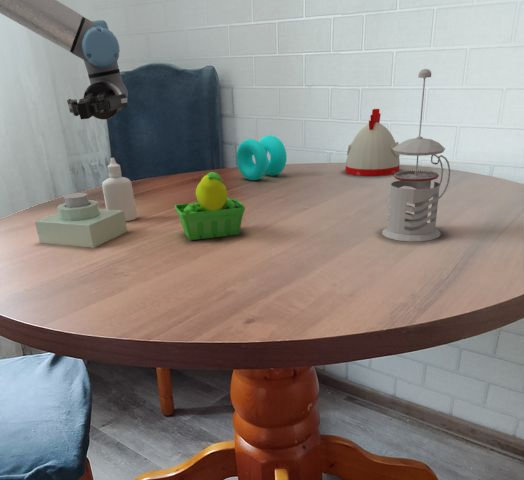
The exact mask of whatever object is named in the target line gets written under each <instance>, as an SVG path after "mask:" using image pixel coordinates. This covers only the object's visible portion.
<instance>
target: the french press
mask: <svg viewBox="0 0 524 480" xmlns="http://www.w3.org/2000/svg"><path fill="white" fill-rule="evenodd" d="M417 78H418V79H423V83H422V95H421V107H420V117H419V129H418V132H419V133H418V136H416V137H415V138H409V139H406V140H404V141H402V142H400V143H398V145H397V146H395V147H394V148H393V151H394V153H396V154H400V155H401V156H413V157H414V156H415V157H416V163H415V164H416V165H415V169H411V170H400V171H399V172H396V173H395V174H393V177H394V179H396V180H395V181H393V182H391V184H390V193H389V197H390V201H389V209H388V214H389V215H388V223H387V226H386V227H385V228H384V229H383V230H382V231H381V233H382V236H384V237H386V238H387V239H391V240H394V241H400V242H427V241H432V240H435V239H438V238H439V237H440V236H441V235H442V234H441V232H440V230H439V229H438V228H437V227H436V225H437V224H436V223H437V217H438V208H439V207H438V206H439V200H440V199H441V198H442V197H443V196H444V194H445V193H446V191H447V189H448V187H449V184H450V179H451V178H450V177H451V167H450V162H449V161H448V159H447V157H446V156H444V155H443V153H444V151H445V150H446V148H445V147H444V145H442V144H441V143H440V142H439V141H437V140H433V139H432V138H424V137H423V136H421V133H422V132H421V131H422V120H423V109H424V100H425V99H424V97H425V85H426V79H427V78H432V70H430V69H429V68H423V69H421V70H420V71H419V72H418V76H417ZM439 154H440V155H439ZM420 156H422V157H423V156H430V163H431V164H432V165H436V166H437V165H439V163H440V169H441V171H440V175H439V173H438V172H435V171H433V170H421V169H418V167H419V166H418V165H419V157H420ZM433 157H436V158H437V162H434V161H433ZM441 158H442V159H444V161H445V163H446V164H447V168H448V175H447V182H446V185H445V188H444V190H443V192H442V193H441V194H440V188H441V185H442V182H443V178H444V177H443V176H444V168H443V167H444V166H443V162H442V160H441ZM439 177H440V180H439V182H437V181H434V180H437V179H438V178H439ZM432 181H433V187H431V185H432ZM402 187H409V188H402ZM407 203H409V204H413V205H414V206H412V205H407ZM430 205H431V207H429V206H430ZM429 213H430V215H428V214H429ZM428 221H429V222H428Z"/></svg>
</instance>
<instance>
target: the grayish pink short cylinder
mask: <svg viewBox="0 0 524 480" xmlns="http://www.w3.org/2000/svg"><path fill="white" fill-rule="evenodd" d="M63 199H64V203H65V204H66V207H67V208H76V207H83V206H87V205H89V200H90V199H89V195H88V193H86V192H74V193H68V194H65V195H64V196H63Z"/></svg>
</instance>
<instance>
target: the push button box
mask: <svg viewBox="0 0 524 480" xmlns="http://www.w3.org/2000/svg"><path fill="white" fill-rule="evenodd" d="M88 200H89V205H87V206H83V207H76V208H67V207H66V204H65V202H63V203H60V204H58V205H57V206H56V210H57V212H56V213H52V214H50V215H47V216H44V217H42V218H38V219H35V220H34V225H35V228H36V233H37V236H38V240H39V244H48V245H49V244H51V245H58V246H59V245H60V246H71V247H79V248H81V247H82V248H91V249H94V248H97V247H98V246H100V245H103V244H105V243H107V242H109V241H111V240H113V239H115V238H118V237H119V236H122V235H124V234H126V233H128V228H127V223H126V222H127V221H126V222H125V216H124V211H121V210H106V208H100V206H99V202H98V201H97V200H93V199H88Z"/></svg>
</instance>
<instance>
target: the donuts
mask: <svg viewBox="0 0 524 480" xmlns="http://www.w3.org/2000/svg"><path fill="white" fill-rule="evenodd" d="M268 153H269V156H270V157H268ZM235 157H236V158H235V159H236V165H237V168H238V171H239V172H240V174H241V175H242V176H243V177H244V178H245V179H247V180H249V181H257V180H260V179H261V178H263V177H264V176H265V175H266V176H271V177H274V176H277V175H279V174H281V173H282V172H283V170H284V168H285V167H286V164H287V150H286V148H285V144H284V143H283V142H282V140H281V139H280V138H278V137H277V136H275V135H272V134H270V135H265V136H263V137H262V138H260V139H259V140H256V139H254V138H246V139H244V140H243V141H242V142H240V144H239V145H238V147H237V149H236V154H235ZM253 157H254V160H253ZM269 158H270V159H269Z"/></svg>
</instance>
